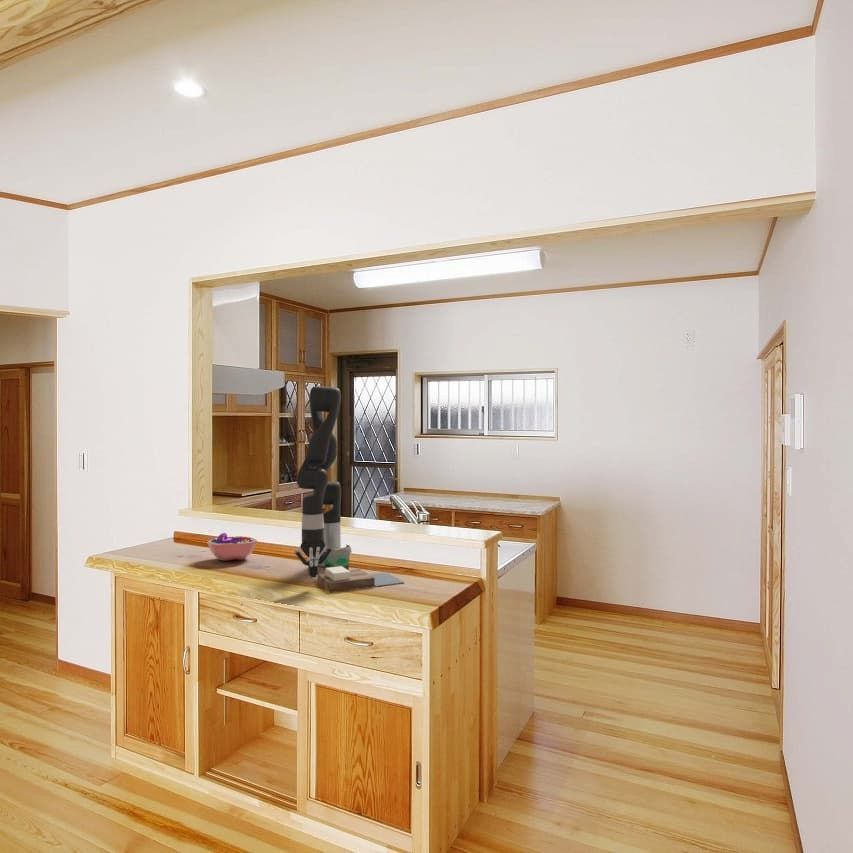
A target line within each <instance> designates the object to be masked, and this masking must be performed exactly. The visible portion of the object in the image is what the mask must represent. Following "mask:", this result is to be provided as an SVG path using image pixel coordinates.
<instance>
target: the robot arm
mask: <svg viewBox="0 0 853 853" xmlns="http://www.w3.org/2000/svg"><path fill="white" fill-rule="evenodd" d="M341 402H342V393H341V390H340V389H339V388H338V387H335V386H333V387H331V386H320V385H319V386H318V385H315V386H313V387H311V388H310V392H309V409H310V410H309V411H310V416H311V417H310V419H311V429H312V432H311V433H312V434H311V436H310V438H309V441H308V444H307V445H308V446H307V452H306V456H305V459H304V460H303V463H302V464H301V466H300V468H299V470H298V471H297V474H296V484H297V485H298V487H299V488H300V489H301V490H302V489H303V490H312V491H313V493H312V495H308V496H307V495H306V496H304V497H303V498H302V503H301V504H302V508H301V509H302V512H301V514H302V515H301V544H300V546H299V548H298V549H297V550H294V555H295V556H296V557H297V559H299V560H300V562H301V563H302V564H303V565H304V566H306V567H307V566H308V571H307V572H308V576H310V578H312V579H313V578H316V577H317V576H318V574H319V572H318V571H319V570H318V568H319V567H322V568H325V559H326V558H327V556H328V555H329V553H330V552H331V550H333V549H335V548H342V547H341V546H342V544H341V542H342V539H341V538H342V537H341V536H342V535H341V534H342V533H341V531H342V530H341V528H342V526H341V524H342V523H341V521H342V520H341V507H342V506H341V502H342V486H341V483H340V482H339V481H329V474H328V472H327V471H328V470H329V469H330V468H331V466H332V465H333V463H335V460H336V459H337V456H338V455H337V454H338V442H337V437H336V436H335V434H334V433H333V430H334V427H335V426H336V422H337V419H338V415H339V411H340V408H341ZM322 412H323V413H328V414H327V415H326V418H325V419H324V417H323V414H322ZM328 505H329V506H331V505H332V507H331V508H330V509H328V510H326V511H325V512H324V506H328ZM303 553H304V554H305V556H306V558H307V559H306V558H304V556H303Z"/></svg>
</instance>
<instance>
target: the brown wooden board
mask: <svg viewBox="0 0 853 853" xmlns="http://www.w3.org/2000/svg"><path fill="white" fill-rule="evenodd" d="M349 571H350V579H345V580H337V581H333V580H332V579H330V578H329V577H328V576H326V572H324V573H323V572H322V573H318V574H317V584H319V585H321V586H322V587H323V588H324V589H326V590H327V591H328V592H330V593H334V592H342V591H347V590H348V591H350V589H351V590H357V589H356V588H358V589H364V587H366V588H372V586H373V587H375V578H374V577H372V576H371V575H369V574H370V573H367V572H366V571H364V570H362V569H361V568H358V569H349Z"/></svg>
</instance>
